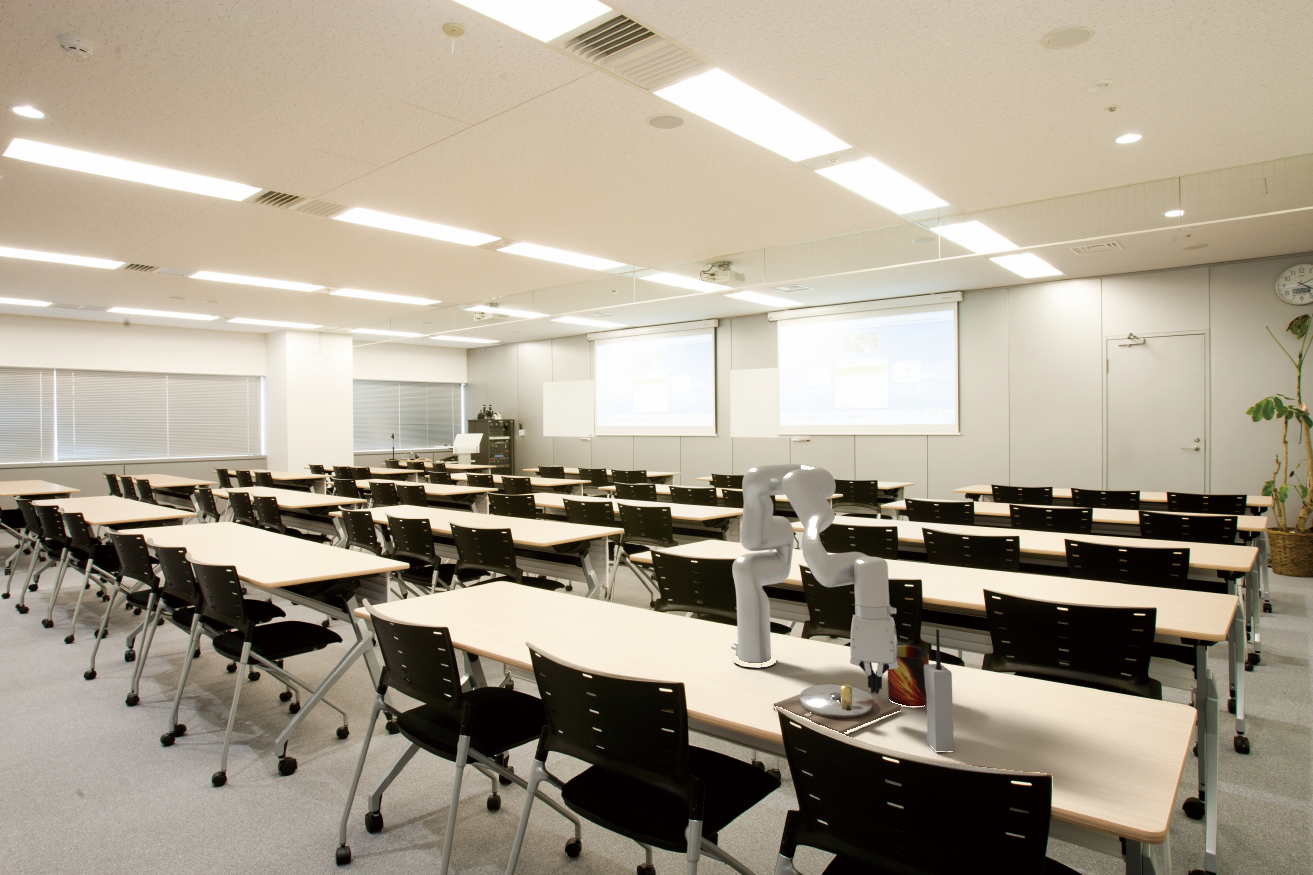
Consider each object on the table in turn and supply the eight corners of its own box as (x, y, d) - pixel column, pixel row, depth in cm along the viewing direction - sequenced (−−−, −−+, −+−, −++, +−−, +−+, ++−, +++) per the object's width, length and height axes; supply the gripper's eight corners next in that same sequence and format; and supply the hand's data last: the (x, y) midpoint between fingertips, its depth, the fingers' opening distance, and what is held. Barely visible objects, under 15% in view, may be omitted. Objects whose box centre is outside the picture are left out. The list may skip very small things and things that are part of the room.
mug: (937, 716, 158) (936, 664, 158) (881, 701, 168) (879, 652, 168) (953, 703, 165) (952, 654, 165) (898, 690, 175) (897, 643, 175)
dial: (791, 692, 170) (790, 666, 170) (856, 688, 172) (855, 662, 172) (813, 720, 154) (813, 691, 154) (886, 715, 155) (885, 686, 155)
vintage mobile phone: (943, 742, 145) (939, 624, 145) (954, 752, 140) (950, 631, 140) (925, 742, 145) (922, 625, 145) (936, 753, 140) (932, 631, 140)
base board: (773, 709, 165) (773, 702, 165) (833, 687, 178) (833, 681, 178) (840, 737, 148) (840, 730, 148) (900, 711, 161) (900, 704, 161)
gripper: (907, 609, 157) (910, 689, 157) (841, 605, 164) (844, 682, 163) (905, 617, 151) (908, 701, 150) (836, 613, 157) (839, 693, 156)
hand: (875, 691), depth 157 cm, fingers closed
